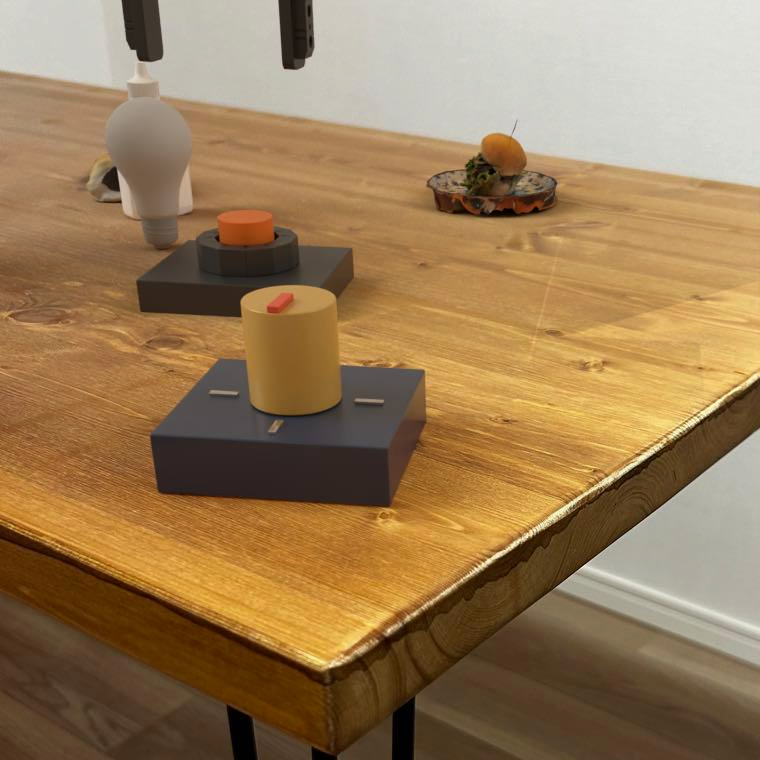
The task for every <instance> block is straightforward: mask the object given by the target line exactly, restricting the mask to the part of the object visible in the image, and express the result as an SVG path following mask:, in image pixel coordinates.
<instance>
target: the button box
mask: <svg viewBox="0 0 760 760" xmlns="http://www.w3.org/2000/svg"><path fill="white" fill-rule="evenodd" d="M273 226H274V238H275V241H271V242H268V243H264V244H255V245H229V244H225V243H221V242H220V238H219V229H218V227H216V228H211V229H208V230H204V231H203V232H202V233H200V234H199V235H198V236H196V237H195V239H188V240H187V241H185V242H184V243H183V244H182V245H180V246H179V247H178V248H177V249H175V250H174V251H172V252H171V253H170V254H168V255H167V256H166V257H164V258H163V259H162V260H160V261H159V262H158V263H157V264H155V265H154V266H153V267H151V268H150V269H149V270H148V271H146V272H145V273H144V274H142V275H141V276H139V277H138V278H137V279H136V281H135V283H136V289H137V296H138V297H137V298H138V303H139V310H140V311H139V312H140V313H149V314H168V315H169V314H170V315H186V316H187V315H190V316H206V317H207V316H208V317H225V318H226V317H227V318H242V313H241V299H242V298H243V297H244V296H245V295H246V294H248V293H250V292H253V291H255V290H259V289H263V288H267V287H274V286H284V285H301V286H311V287H317V288H321V289H325V290H327V291H330V292H331V293H333V294H334V295H335V297H336V301H337V300H338V299H339V297H340V296H341V295H342V294H343V292H344V291H345V290H346V288H347V287H348V286H349V285H350V283H351V282H352V281H353V279H354V278H355V268H354V250H353V248H352V247H343V246H341V247H340V246H322V245H321V246H319V245H302V244H301V245H299V236H298V234H297V233H296V232H294V231H293V230H292V229H290V228H286V227H281V226H277V225H273Z"/></svg>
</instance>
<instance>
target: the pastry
mask: <svg viewBox="0 0 760 760" xmlns="http://www.w3.org/2000/svg"><path fill="white" fill-rule="evenodd" d="M85 186H86V190H87V192H88V193H89V194H90V195H91V196H92V197H93V199H94V200H96V201H97V202H101V203H102V202H113V203H116V202H122V199H121V192H120V185H119V178H118V171H117V168H116V166H115V165H114V163H113V161H112V160H111V158H110V156H109V154H108V153H105V154H103V155H101V157H98V158H95V160H94V162H93V163H92V164H91V166H90V169H89V180H88V181H87V182H86V185H85Z"/></svg>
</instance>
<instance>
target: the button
mask: <svg viewBox="0 0 760 760" xmlns="http://www.w3.org/2000/svg"><path fill="white" fill-rule="evenodd" d="M216 219H217V228H218V229H219V238H220V242H221V243H225V244H229V245H255V244H264V243H268V242H271V241H275V238H274V226H275V225H274V216H273V214H272V213H270V212H268V211H264V210H257V209H238V210H231V211H230V210H229V211H226V212H223V213H219V214H218V215H217V218H216Z"/></svg>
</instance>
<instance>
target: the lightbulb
mask: <svg viewBox="0 0 760 760" xmlns="http://www.w3.org/2000/svg"><path fill="white" fill-rule="evenodd" d="M104 142H105V148H106V151H107V154H109V156H110V158H111V160H112V161H113V163H114V165H115V166H116V168H117V169H118V171H119V172H120V174H121V175H122V176H123V178H124V179H125V181H126V183H127V184H128V186H129V188H130V190H131V193H132V196H133V199H134V202H135V207H136V212H137V214H138V215H140V217H141V220H140V224H141V227H142V229H141V230H142V233H143V237H144V238H143V239H144V241H145V242H146V243H148V244H149V245H153V246H154V247H155V248H156V249H158V250H166V249H167V250H168V249H169V248H170V247H171V245H172V244H174V243H176V242H177V241H178V240H179V222H178V216H177V214H178V213H179V210H180V209H179V193H180V186H181V182H182V178H183V176H184V173H185V171H186V169H187V166H188V163H190V160H191V157H192V156H193V155H192V154H193V146H194V145H193V144H194V143H193V136H192V133H191V130H190V127H189V125H188V123H187V121H186V119H185V118H184V117H183V115H182V114H181V112H179V111H178V110H177V109H176V108H175V107H173V106H172V105H171V104H169V103H167V101H163V100H161V99H160V100H159V99H155V98H150V97H138V98H134V99H131V100H129V99H128V100H126V101H124V102H123V103H121V104H120V105H119V106H117V107H116V108H115V109H114V110H113V112H112V113H111V114H110V116H109V118H108V119H107V122H106V127H105V131H104Z"/></svg>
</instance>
